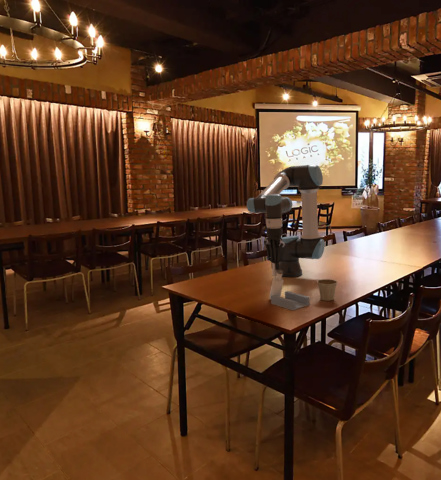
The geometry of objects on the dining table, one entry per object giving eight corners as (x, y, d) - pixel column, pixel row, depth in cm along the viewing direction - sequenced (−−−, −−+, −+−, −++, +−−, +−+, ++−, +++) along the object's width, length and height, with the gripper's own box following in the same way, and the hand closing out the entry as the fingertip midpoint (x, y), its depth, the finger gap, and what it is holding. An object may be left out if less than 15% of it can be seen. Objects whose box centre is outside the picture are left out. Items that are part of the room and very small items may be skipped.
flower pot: (333, 295, 193) (333, 278, 192) (340, 301, 184) (340, 283, 182) (314, 296, 193) (314, 279, 191) (320, 302, 183) (320, 284, 182)
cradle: (271, 303, 186) (270, 295, 185) (287, 298, 192) (287, 290, 192) (292, 310, 175) (292, 302, 174) (309, 304, 181) (309, 296, 180)
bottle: (267, 296, 192) (272, 269, 187) (274, 294, 195) (280, 268, 190) (274, 301, 188) (279, 274, 183) (282, 299, 191) (287, 272, 186)
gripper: (259, 227, 188) (260, 275, 192) (278, 229, 178) (279, 279, 181) (270, 225, 193) (271, 272, 196) (289, 227, 182) (290, 276, 186)
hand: (275, 275), depth 189 cm, fingers closed
